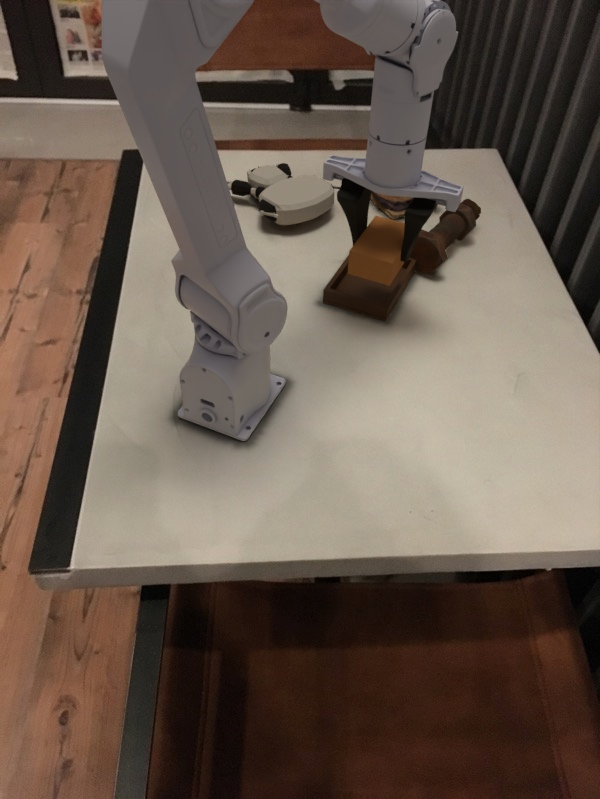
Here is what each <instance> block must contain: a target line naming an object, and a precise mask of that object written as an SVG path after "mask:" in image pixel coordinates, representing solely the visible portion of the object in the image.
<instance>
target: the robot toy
mask: <svg viewBox="0 0 600 799" xmlns="http://www.w3.org/2000/svg"><path fill="white" fill-rule="evenodd" d="M246 175H247V177H246V178H247V181H246V180H241V179H233V181H232V180H228V181H227V180H226V181H227V184H228V187H229V191H230V192H231V195H233V196H237V197H238V196H240V197H246V196H249V195H252V196H253V197H254V198H255V199H256V200H258V202H257V204H258V213H259V215H260V216H262V217H264V218H266V219H267V220H269V221H271V222H273V223H275V224H277V225H280V226H290V225H296V224H301V223H304V222H308V221H312V220H315V219H317V218H319V216H321V215H323V214H326V212H328V211H329V210H330V209H331V208H333V207H334V204H335V190H339V189H340V187H341V186H339V185H338V186H337V185H333V184H332V183H331V182H329V181H327V180H324V179H323V178H320V177H318V176H316V175H309V174H307V175H306V174H302V175H297V176H292V170H291V168H290V165H289V164H288V163H285V162H282V163H276V164H271V165H269V164H268V165H266V164H265V165H258V166H257V167H254V168H253V169H248V170H247V171H246Z"/></svg>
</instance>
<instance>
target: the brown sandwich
mask: <svg viewBox="0 0 600 799" xmlns="http://www.w3.org/2000/svg"><path fill="white" fill-rule="evenodd" d="M413 199H414V198H410V197H400V196H387V195H382V194H378V193H376V192H373V191H372V194H371V198H370V201H372V203H373V204H374V205H375V207H377V208H379V209H380V210H381V211H382V212H383V213H385V214H386V215H387V217H389V219H391V220H396V219H399V218H400V217H401V218H404V213H405V210H406V209H407V207H408V206H409V205H410V203H411V202H412V201H413ZM435 210H437V207H436V208H435Z"/></svg>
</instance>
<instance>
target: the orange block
mask: <svg viewBox="0 0 600 799" xmlns="http://www.w3.org/2000/svg"><path fill="white" fill-rule="evenodd" d="M404 226H405V222H403V221H398V220H396V219H393V220H392V218H387V217H383V216H379V215H374V217H373V218H372V220H370V223H369V224H367V228H366V229H365V231H364V232H363V233H362V235H361V236H360V237H359V239H358V240H357V241H356V243H355V244H354V245H353V244H352V246H351V248H350V249H349V253H348V255H349V261H348V274H351V275H354V276H358V277H361V278H365V279H368V280H372V281H375V282H378V283H382V284H385V285H389V286H390V284H391V283H392V281H393V280H394V278H395V276H396V275H397V273H398V272H399V270H400V269H401V267H402V265H403V264H404V262H403V261H401V248H402V244H403V239H404Z"/></svg>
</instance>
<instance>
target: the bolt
mask: <svg viewBox="0 0 600 799" xmlns="http://www.w3.org/2000/svg"><path fill="white" fill-rule="evenodd" d="M480 214H482V208H481V206H479V205H478V204H477V202H475V201H473V200H472V199H470V198H465V199H463V200H461V202H460V205H459V206H458V208H457V210H456V211H455V212H452V211H448V210H446V209H445V211H443V213H442V214H441V215H440V216H439V218H438V220H439V222H438V223H436V224H435V226H434V227H432V228H431V229H430V230H429V231H427V230H425V229H423V228H422V229H421V231H420V233H419V235H418V237H417V239H416V241H415V244H414V247H413V250H412V254H411V255H410V258H412V259H415V260H417V262H416V267H415V272H416V273H420V274H423V275H432V274H433V273H434V272H436V270H438V269H439V267H440V266H442V265H443V264H444V263H445V262H446V260H448V259H449V257H448V253H447V249H448V248H449V247H451V246H452V244H454V242H456V241H463V240H464V238H465V237H467V235H469V234H470V233H471V232H472V231H473V230H474V229H476V227H477V220H478V219H479V218H480V216H481V215H480Z"/></svg>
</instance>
